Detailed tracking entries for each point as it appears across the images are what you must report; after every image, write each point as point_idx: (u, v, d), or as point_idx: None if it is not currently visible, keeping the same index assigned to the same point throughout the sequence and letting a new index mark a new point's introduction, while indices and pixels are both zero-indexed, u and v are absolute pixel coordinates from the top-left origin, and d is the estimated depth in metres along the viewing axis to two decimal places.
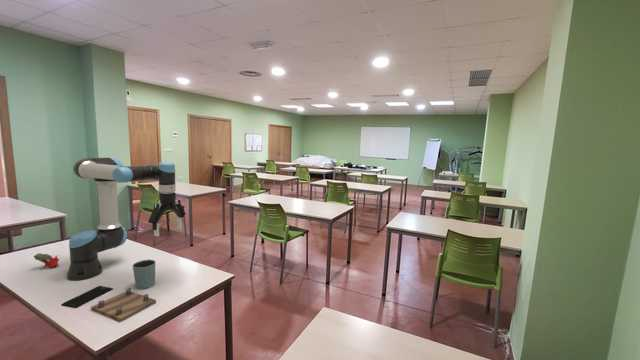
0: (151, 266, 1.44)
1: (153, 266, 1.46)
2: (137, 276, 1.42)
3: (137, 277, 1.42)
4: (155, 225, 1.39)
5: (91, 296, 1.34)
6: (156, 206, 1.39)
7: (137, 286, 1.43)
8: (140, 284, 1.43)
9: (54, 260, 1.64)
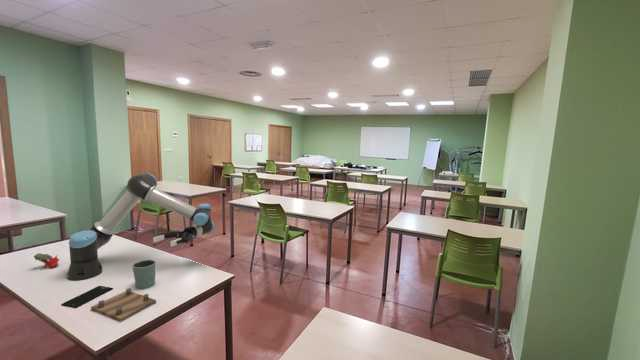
0: (151, 266, 1.44)
1: (153, 266, 1.46)
2: (137, 276, 1.42)
3: (137, 277, 1.42)
4: None
5: (91, 296, 1.34)
6: (193, 237, 1.66)
7: (137, 286, 1.43)
8: (140, 284, 1.43)
9: (54, 260, 1.64)
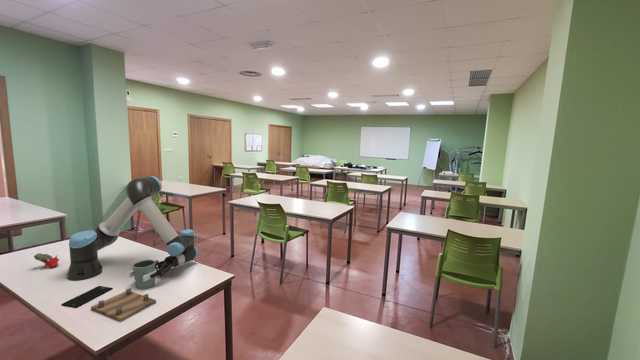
0: (151, 266, 1.44)
1: (153, 266, 1.46)
2: (137, 276, 1.42)
3: (137, 277, 1.42)
4: None
5: (91, 296, 1.34)
6: (172, 268, 1.54)
7: (137, 286, 1.43)
8: (140, 284, 1.43)
9: (54, 260, 1.64)
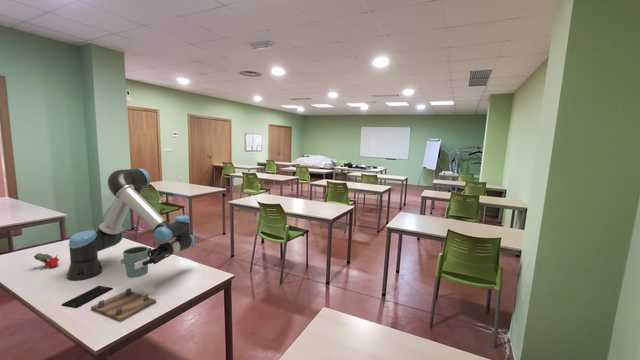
0: (143, 253, 1.32)
1: (146, 253, 1.34)
2: (128, 263, 1.30)
3: (128, 264, 1.30)
4: None
5: (91, 296, 1.34)
6: (166, 256, 1.42)
7: (128, 274, 1.31)
8: (131, 272, 1.31)
9: (54, 260, 1.64)
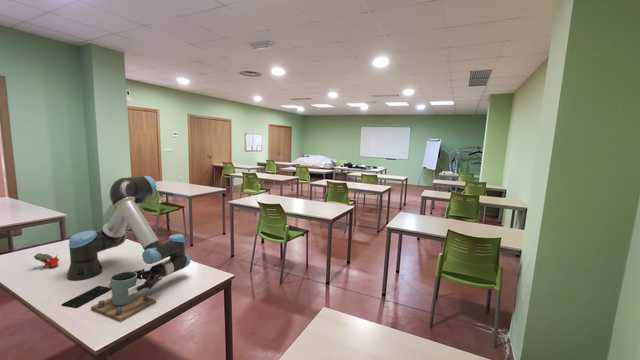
0: (131, 280, 1.26)
1: (134, 280, 1.28)
2: (114, 290, 1.24)
3: (114, 291, 1.24)
4: None
5: (91, 296, 1.34)
6: (160, 279, 1.36)
7: (113, 302, 1.25)
8: (117, 300, 1.25)
9: (54, 260, 1.64)
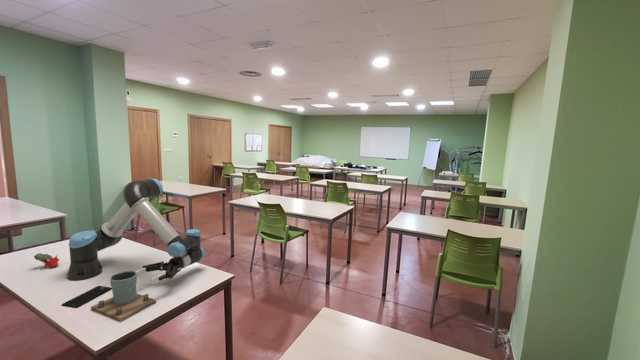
0: (128, 280, 1.26)
1: (131, 279, 1.28)
2: (113, 290, 1.25)
3: (113, 291, 1.25)
4: None
5: (91, 296, 1.34)
6: (179, 270, 1.46)
7: (114, 301, 1.27)
8: (116, 299, 1.26)
9: (54, 260, 1.64)
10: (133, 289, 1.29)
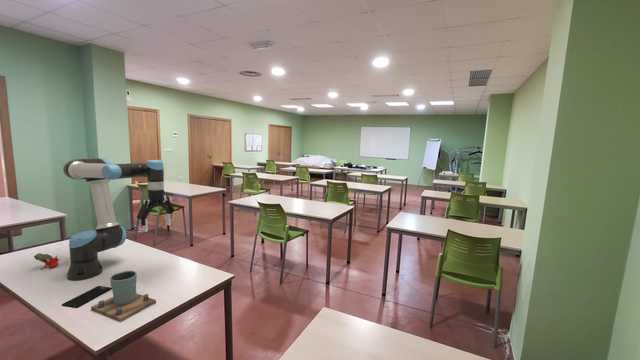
0: (128, 280, 1.26)
1: (131, 279, 1.28)
2: (113, 290, 1.25)
3: (113, 291, 1.25)
4: (144, 221, 1.43)
5: (91, 296, 1.34)
6: (144, 202, 1.43)
7: (114, 301, 1.27)
8: (116, 299, 1.26)
9: (54, 260, 1.64)
10: (133, 289, 1.29)
